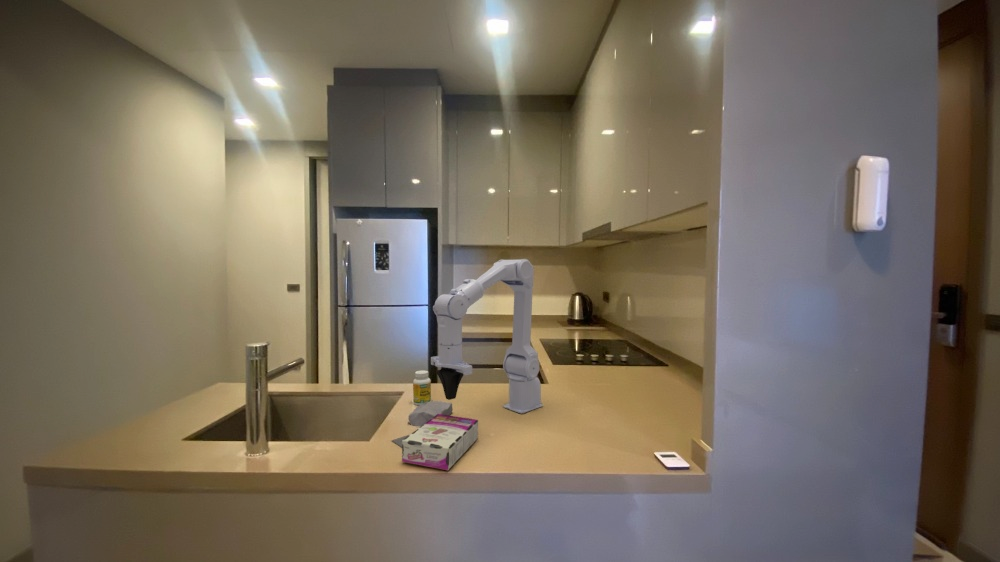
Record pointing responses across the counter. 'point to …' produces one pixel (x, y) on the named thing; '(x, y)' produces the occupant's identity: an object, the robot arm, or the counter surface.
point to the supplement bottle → (421, 388)
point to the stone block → (429, 412)
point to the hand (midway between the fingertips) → (450, 398)
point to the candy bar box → (440, 441)
